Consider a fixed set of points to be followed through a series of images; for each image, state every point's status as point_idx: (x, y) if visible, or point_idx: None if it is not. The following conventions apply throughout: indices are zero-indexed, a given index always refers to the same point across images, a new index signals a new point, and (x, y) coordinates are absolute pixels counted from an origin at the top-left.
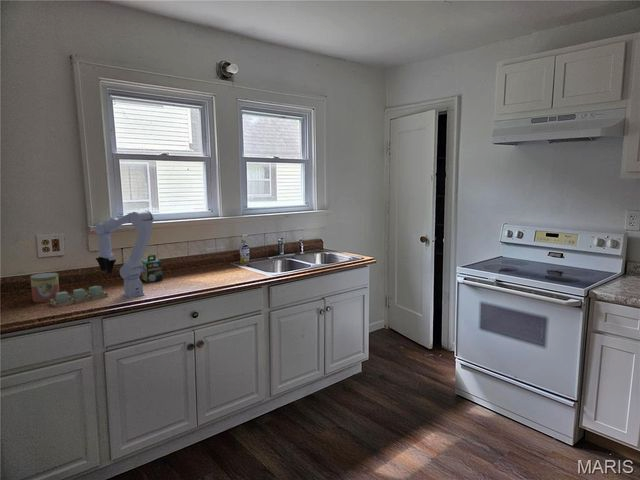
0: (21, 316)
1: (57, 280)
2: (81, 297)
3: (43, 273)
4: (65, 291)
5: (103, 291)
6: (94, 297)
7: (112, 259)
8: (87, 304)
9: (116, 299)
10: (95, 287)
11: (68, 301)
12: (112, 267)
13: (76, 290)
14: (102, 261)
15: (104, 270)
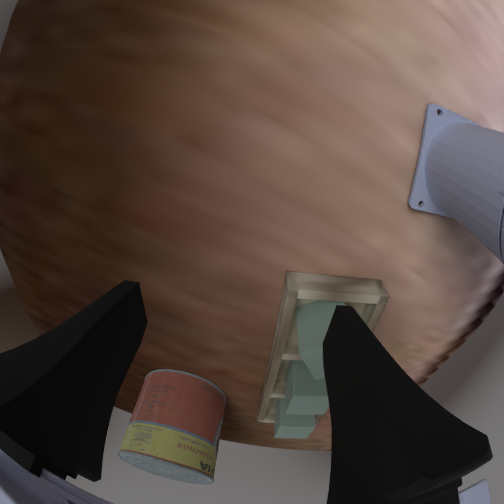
0: (310, 441)
1: (194, 448)
2: None
3: (123, 456)
4: (283, 426)
5: (339, 294)
6: None
7: (474, 491)
8: None
9: (445, 271)
10: None
11: None
12: (389, 366)
13: (309, 411)
14: (84, 417)
15: (139, 297)
